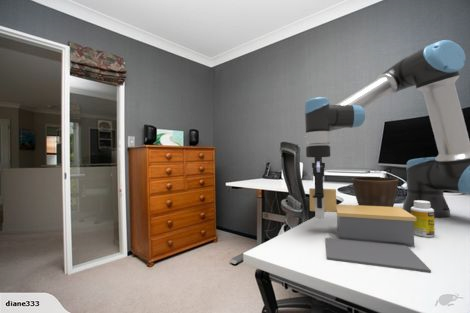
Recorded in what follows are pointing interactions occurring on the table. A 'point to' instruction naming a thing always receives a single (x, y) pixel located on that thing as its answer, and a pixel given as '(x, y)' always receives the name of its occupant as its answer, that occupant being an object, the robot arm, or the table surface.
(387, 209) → the amber lid
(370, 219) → the charcoal tub
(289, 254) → the table surface
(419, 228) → the supplement bottle
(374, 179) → the plant pot
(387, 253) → the grey rubber mat
